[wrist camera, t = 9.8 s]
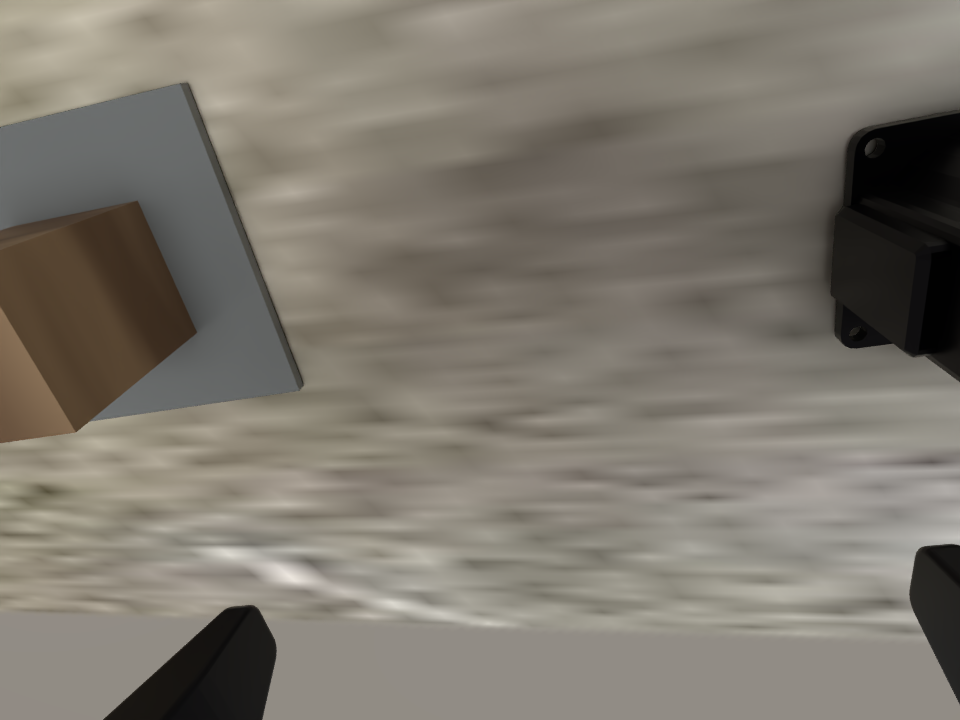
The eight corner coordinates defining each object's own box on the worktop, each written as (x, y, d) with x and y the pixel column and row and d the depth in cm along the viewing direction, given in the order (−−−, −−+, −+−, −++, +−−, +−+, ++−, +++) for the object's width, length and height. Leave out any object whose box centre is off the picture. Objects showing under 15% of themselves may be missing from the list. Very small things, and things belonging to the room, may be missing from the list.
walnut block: (137, 200, 18) (-28, 260, 13) (197, 332, 20) (75, 432, 15) (12, 226, 19) (-195, 293, 13) (81, 351, 21) (-75, 453, 15)
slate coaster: (187, 83, 17) (180, 83, 16) (303, 385, 21) (299, 390, 21) (-102, 153, 18) (-114, 155, 18) (62, 420, 23) (54, 426, 22)
